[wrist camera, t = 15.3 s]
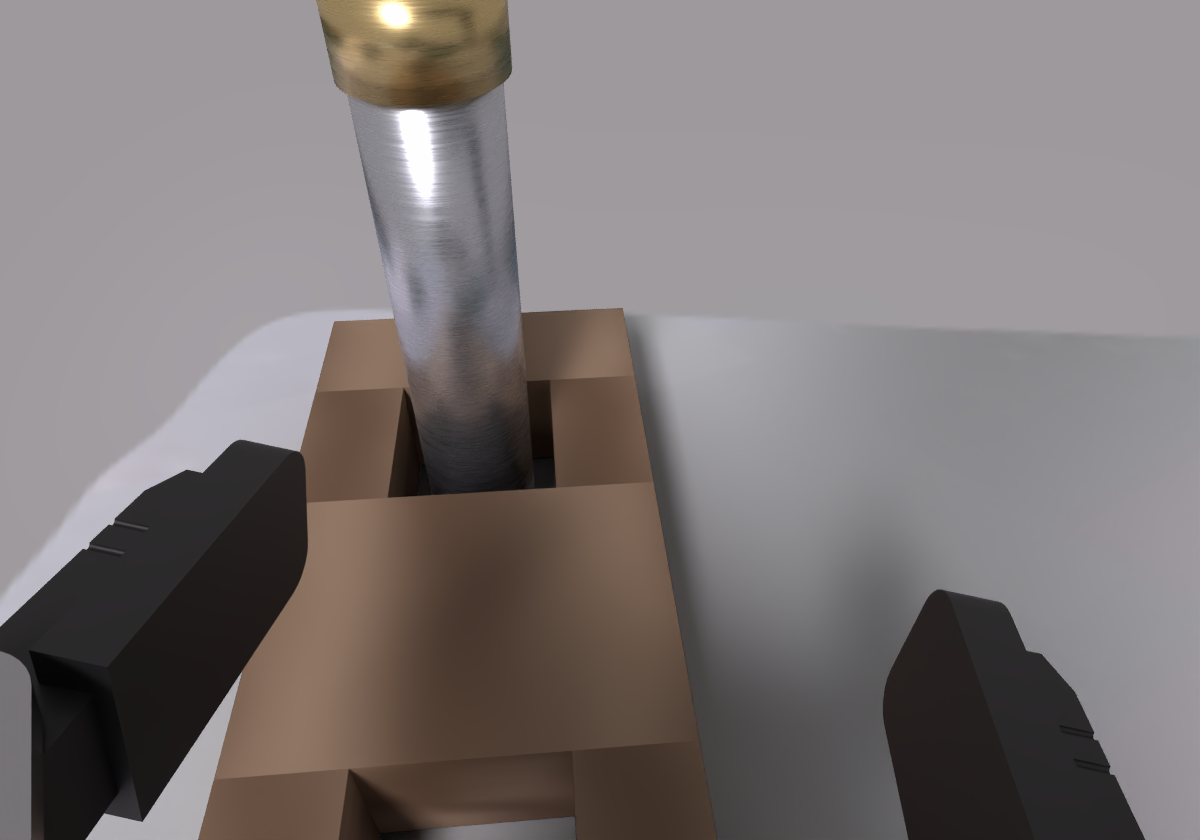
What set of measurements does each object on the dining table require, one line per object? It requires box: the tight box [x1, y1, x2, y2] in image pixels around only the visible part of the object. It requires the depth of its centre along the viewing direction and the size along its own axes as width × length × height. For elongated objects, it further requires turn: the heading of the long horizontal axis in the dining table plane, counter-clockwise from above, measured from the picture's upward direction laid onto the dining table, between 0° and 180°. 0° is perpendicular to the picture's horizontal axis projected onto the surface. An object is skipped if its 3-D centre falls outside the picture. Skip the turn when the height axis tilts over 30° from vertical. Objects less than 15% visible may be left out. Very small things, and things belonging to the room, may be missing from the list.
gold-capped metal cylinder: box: [316, 0, 535, 495], centre depth 21 cm, size 4×4×16 cm
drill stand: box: [198, 308, 717, 840], centre depth 21 cm, size 10×24×4 cm, turn 5°
